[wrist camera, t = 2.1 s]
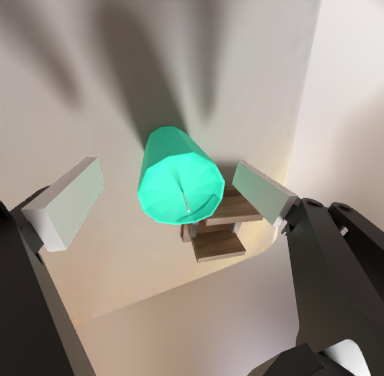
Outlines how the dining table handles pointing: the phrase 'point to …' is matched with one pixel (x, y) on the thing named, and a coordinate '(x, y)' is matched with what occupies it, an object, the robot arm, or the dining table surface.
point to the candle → (178, 179)
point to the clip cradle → (221, 228)
